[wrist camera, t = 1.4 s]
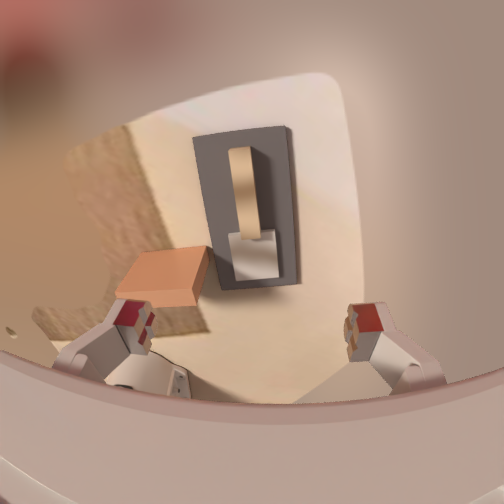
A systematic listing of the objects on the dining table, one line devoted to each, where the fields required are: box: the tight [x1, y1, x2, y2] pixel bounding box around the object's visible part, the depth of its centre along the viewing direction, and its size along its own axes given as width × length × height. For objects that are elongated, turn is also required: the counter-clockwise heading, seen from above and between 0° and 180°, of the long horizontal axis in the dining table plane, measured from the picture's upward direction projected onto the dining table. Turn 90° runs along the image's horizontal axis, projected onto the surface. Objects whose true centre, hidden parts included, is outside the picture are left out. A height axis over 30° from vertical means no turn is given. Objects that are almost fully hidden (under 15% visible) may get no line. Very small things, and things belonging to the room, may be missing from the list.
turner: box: [228, 146, 279, 281], centre depth 35 cm, size 18×6×2 cm, turn 7°
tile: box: [115, 246, 209, 307], centre depth 36 cm, size 3×10×10 cm, turn 97°
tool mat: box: [193, 126, 297, 290], centre depth 37 cm, size 22×11×1 cm, turn 7°
